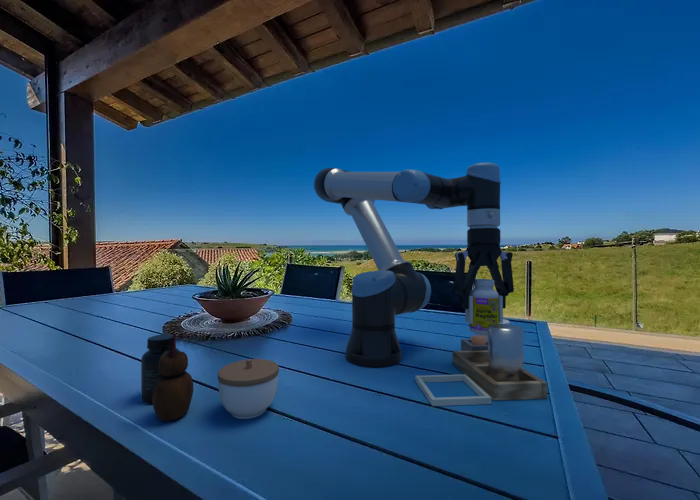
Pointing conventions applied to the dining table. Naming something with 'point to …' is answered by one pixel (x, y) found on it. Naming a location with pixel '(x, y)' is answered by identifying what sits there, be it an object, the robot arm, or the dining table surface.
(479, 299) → the supplement bottle
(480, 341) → the pink block
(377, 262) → the robot arm
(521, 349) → the billet
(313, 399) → the dining table surface
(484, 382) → the wooden tray
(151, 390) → the supplement bottle
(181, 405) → the wooden figurine
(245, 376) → the lidded jar
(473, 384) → the rectangular frame
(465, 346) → the gray open box
